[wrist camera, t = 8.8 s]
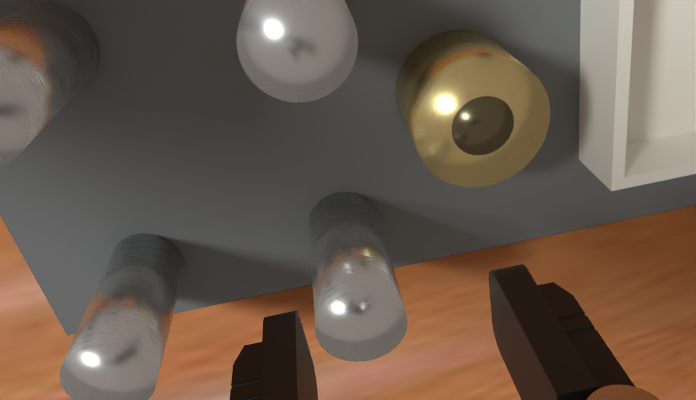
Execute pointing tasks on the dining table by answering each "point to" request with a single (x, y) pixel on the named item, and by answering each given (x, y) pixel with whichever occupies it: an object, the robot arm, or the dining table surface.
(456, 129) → the nut
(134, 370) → the spacers
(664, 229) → the dining table surface
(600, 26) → the white square tray
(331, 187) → the mat
